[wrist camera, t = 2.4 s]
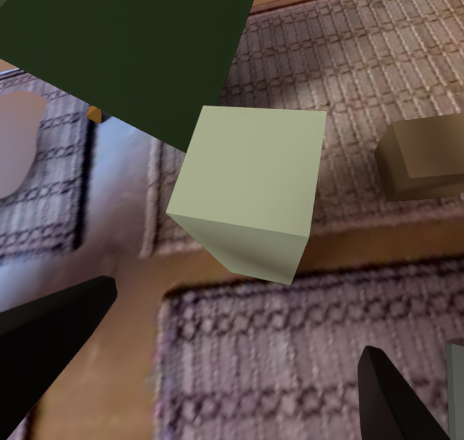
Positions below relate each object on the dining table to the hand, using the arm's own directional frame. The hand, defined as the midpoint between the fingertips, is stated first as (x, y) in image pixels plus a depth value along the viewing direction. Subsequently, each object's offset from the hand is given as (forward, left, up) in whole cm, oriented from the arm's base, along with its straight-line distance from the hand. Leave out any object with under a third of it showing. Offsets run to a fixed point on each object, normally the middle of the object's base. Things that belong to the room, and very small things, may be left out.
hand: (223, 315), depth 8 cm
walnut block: (+11, +14, -12) cm, 22 cm away
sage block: (0, +5, -12) cm, 13 cm away
